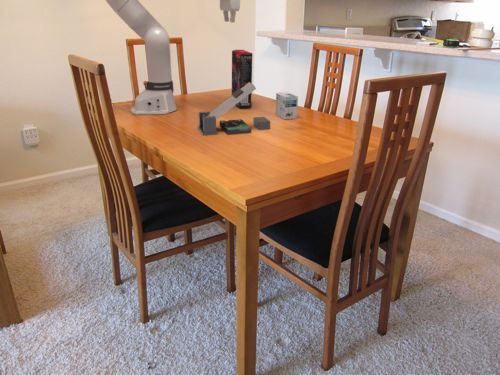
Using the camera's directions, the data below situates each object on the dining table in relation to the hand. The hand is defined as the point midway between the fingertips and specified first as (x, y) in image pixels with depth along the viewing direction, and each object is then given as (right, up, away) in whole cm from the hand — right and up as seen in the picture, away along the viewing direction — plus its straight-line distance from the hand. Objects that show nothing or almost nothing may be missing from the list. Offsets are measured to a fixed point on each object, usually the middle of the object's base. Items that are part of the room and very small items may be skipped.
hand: (229, 22), depth 186 cm
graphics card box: (+5, -31, +33) cm, 46 cm away
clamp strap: (+1, -40, -12) cm, 42 cm away
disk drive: (+3, -50, -7) cm, 50 cm away
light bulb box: (+26, -40, +13) cm, 50 cm away
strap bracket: (+3, -49, -8) cm, 50 cm away
